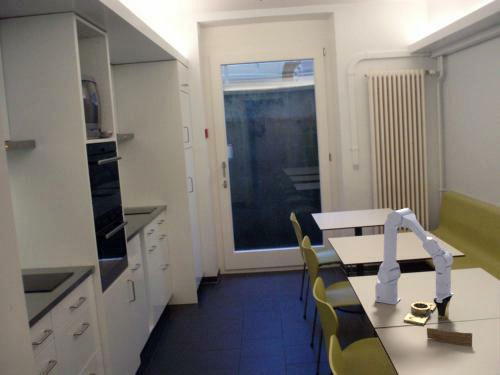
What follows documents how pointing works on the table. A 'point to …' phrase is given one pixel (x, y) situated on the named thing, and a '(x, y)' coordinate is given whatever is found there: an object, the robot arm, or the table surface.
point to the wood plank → (450, 337)
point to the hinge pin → (445, 313)
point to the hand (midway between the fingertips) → (443, 313)
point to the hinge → (420, 312)
